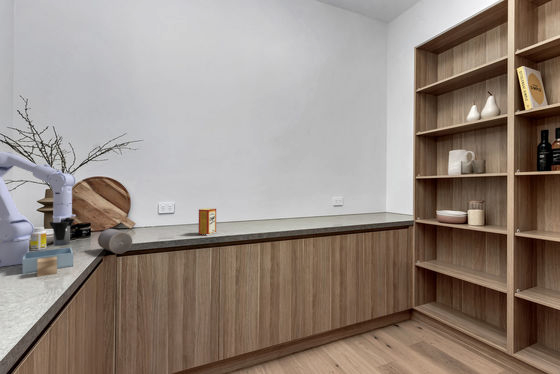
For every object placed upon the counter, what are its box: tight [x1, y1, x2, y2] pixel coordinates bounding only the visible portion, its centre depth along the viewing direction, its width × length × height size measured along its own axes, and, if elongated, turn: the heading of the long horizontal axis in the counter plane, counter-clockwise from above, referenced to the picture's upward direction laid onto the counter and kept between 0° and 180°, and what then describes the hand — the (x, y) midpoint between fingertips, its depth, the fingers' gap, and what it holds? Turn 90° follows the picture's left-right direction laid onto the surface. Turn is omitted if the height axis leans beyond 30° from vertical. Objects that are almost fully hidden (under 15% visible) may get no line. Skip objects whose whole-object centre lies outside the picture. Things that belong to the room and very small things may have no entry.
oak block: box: [36, 256, 58, 278], centre depth 93 cm, size 5×5×5 cm
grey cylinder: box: [52, 226, 71, 247], centre depth 106 cm, size 5×5×7 cm
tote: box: [22, 246, 74, 275], centre depth 101 cm, size 14×12×5 cm
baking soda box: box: [198, 207, 217, 235], centre depth 169 cm, size 10×6×16 cm
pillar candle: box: [97, 228, 133, 255], centre depth 124 cm, size 10×10×15 cm
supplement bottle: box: [29, 226, 47, 252], centre depth 126 cm, size 6×6×10 cm
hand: (62, 238), depth 106 cm, fingers closed on grey cylinder, 5 cm apart
